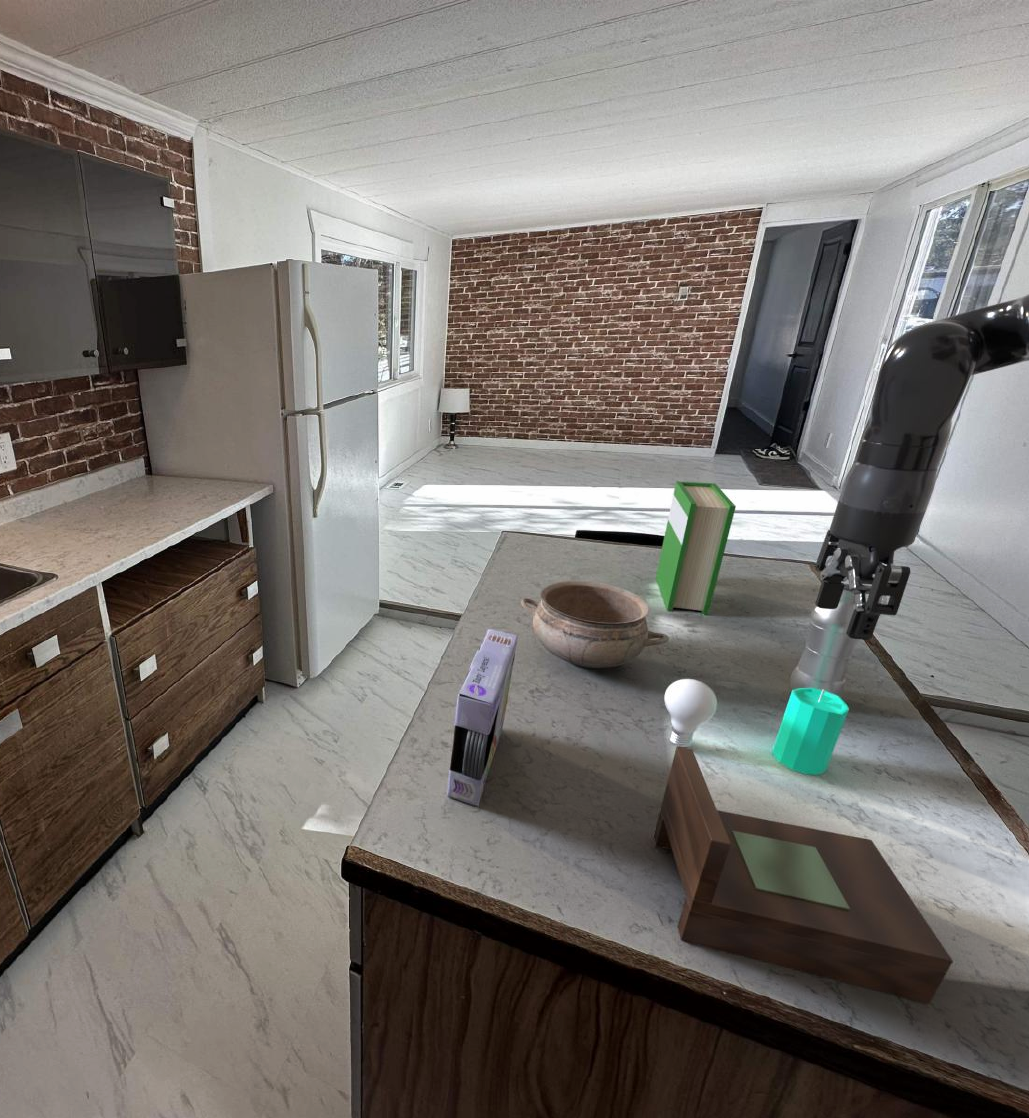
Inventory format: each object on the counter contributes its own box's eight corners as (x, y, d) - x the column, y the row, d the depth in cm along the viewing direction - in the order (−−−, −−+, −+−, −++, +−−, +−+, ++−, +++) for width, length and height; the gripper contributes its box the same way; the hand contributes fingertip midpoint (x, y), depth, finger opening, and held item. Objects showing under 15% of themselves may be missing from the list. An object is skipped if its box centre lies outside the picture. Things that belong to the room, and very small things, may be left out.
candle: (780, 769, 83) (804, 698, 79) (766, 742, 89) (788, 674, 84) (833, 779, 81) (861, 706, 77) (816, 751, 86) (841, 681, 82)
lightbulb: (652, 726, 93) (667, 666, 89) (701, 737, 90) (718, 675, 86) (656, 752, 88) (671, 689, 84) (707, 763, 85) (725, 699, 81)
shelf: (854, 878, 67) (896, 782, 62) (929, 1004, 55) (990, 898, 50) (653, 836, 74) (676, 746, 69) (680, 940, 62) (711, 840, 57)
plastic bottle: (842, 714, 94) (885, 600, 86) (787, 701, 97) (824, 591, 90) (835, 693, 99) (875, 584, 91) (783, 682, 102) (818, 576, 95)
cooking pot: (497, 658, 113) (503, 600, 108) (534, 620, 126) (541, 567, 121) (645, 707, 97) (660, 642, 93) (670, 658, 110) (684, 599, 106)
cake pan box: (479, 815, 78) (492, 703, 72) (442, 802, 81) (450, 693, 74) (506, 730, 94) (519, 632, 87) (474, 721, 96) (483, 625, 89)
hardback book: (707, 615, 125) (735, 506, 116) (667, 610, 128) (691, 503, 119) (691, 582, 140) (715, 483, 131) (655, 578, 142) (676, 481, 133)
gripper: (963, 522, 63) (910, 653, 69) (888, 487, 75) (849, 601, 82) (873, 517, 66) (830, 645, 72) (816, 484, 78) (783, 595, 84)
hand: (840, 622), depth 77 cm, fingers open, 8 cm apart
